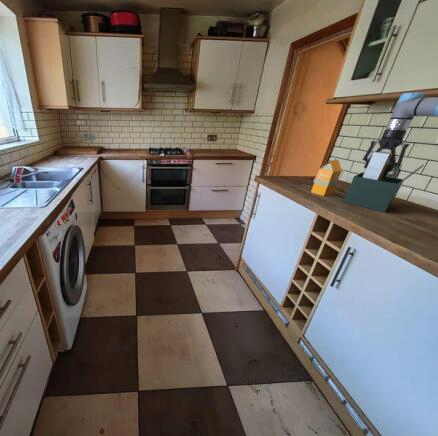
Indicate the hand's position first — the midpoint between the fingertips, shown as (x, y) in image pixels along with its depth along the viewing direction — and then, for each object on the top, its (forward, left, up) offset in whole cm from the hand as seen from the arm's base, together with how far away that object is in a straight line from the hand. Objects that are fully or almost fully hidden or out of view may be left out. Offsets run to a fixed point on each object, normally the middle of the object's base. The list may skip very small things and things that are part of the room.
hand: (374, 176), depth 119 cm
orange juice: (+19, +1, -15) cm, 24 cm away
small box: (0, 0, -1) cm, 1 cm away
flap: (-12, 0, +4) cm, 13 cm away
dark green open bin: (-2, 0, -15) cm, 15 cm away
